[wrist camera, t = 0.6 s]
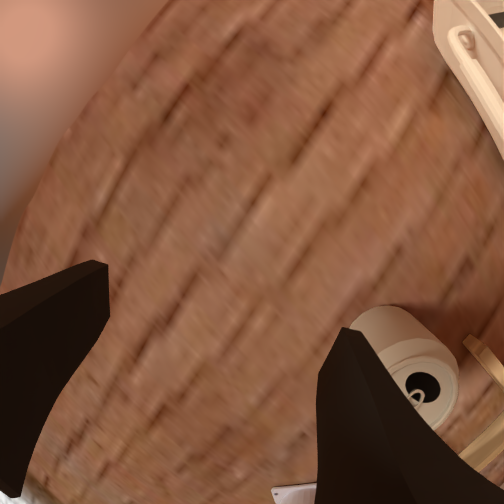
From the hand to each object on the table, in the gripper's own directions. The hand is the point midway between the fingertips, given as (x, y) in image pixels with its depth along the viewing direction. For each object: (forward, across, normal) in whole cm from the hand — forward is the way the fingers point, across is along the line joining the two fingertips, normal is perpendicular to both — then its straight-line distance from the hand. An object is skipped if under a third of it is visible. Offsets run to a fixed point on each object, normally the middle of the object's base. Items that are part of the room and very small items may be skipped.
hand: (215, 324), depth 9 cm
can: (+15, -14, +11) cm, 23 cm away
